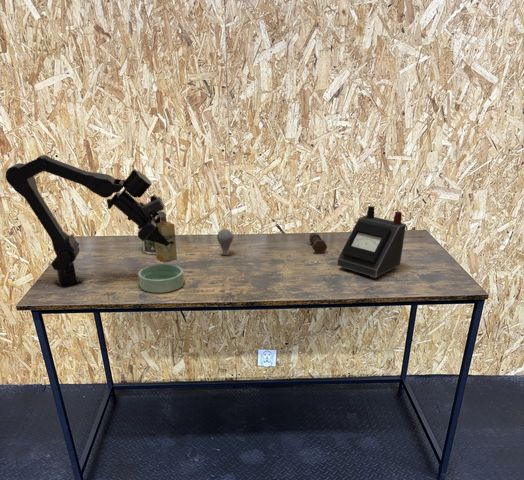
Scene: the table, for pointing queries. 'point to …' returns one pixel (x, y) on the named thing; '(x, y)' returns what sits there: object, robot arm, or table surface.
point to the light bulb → (225, 240)
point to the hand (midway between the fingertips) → (169, 241)
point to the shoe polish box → (164, 251)
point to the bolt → (317, 243)
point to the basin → (161, 278)
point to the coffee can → (150, 245)
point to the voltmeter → (373, 245)
